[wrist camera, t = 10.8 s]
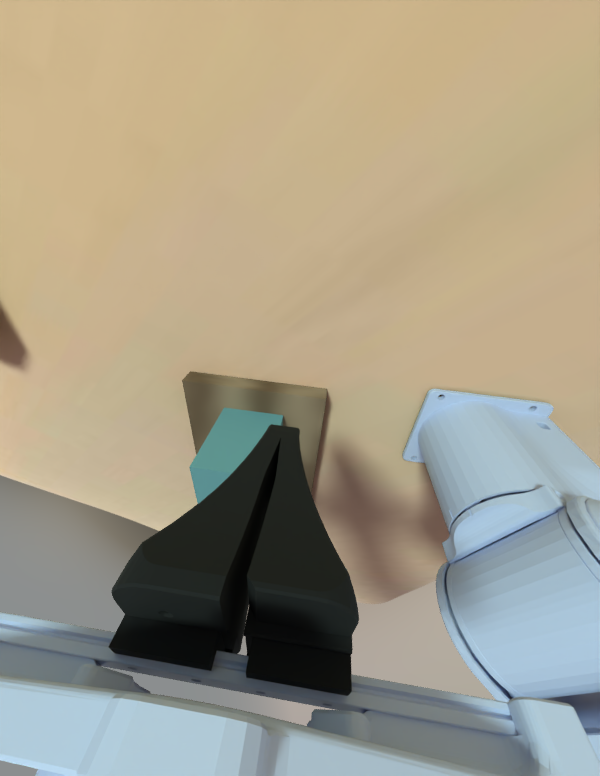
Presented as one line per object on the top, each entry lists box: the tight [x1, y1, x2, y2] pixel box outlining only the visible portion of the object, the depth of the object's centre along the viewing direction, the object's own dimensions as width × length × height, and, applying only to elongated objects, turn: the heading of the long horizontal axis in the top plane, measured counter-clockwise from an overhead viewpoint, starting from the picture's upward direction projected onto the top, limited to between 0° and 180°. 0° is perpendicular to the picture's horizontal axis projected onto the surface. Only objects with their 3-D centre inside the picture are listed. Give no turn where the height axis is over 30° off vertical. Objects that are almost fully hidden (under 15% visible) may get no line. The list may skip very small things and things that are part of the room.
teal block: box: [190, 408, 283, 504], centre depth 22 cm, size 5×5×7 cm
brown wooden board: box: [182, 372, 327, 492], centre depth 29 cm, size 12×23×2 cm, turn 176°
